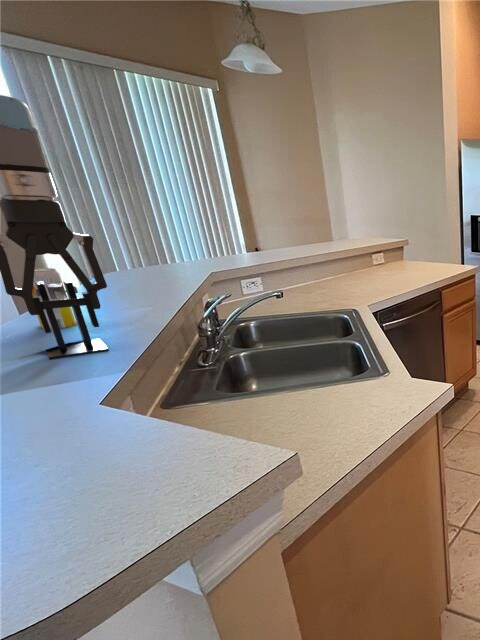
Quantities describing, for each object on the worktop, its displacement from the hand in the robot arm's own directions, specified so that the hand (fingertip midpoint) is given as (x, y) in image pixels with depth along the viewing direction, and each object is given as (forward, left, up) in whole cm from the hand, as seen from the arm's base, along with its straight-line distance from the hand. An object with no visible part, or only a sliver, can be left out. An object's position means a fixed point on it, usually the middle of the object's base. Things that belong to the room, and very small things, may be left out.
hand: (72, 328), depth 85 cm
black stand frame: (-7, +7, -7) cm, 12 cm away
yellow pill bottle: (-25, +23, -7) cm, 35 cm away
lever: (-4, +4, +4) cm, 7 cm away
